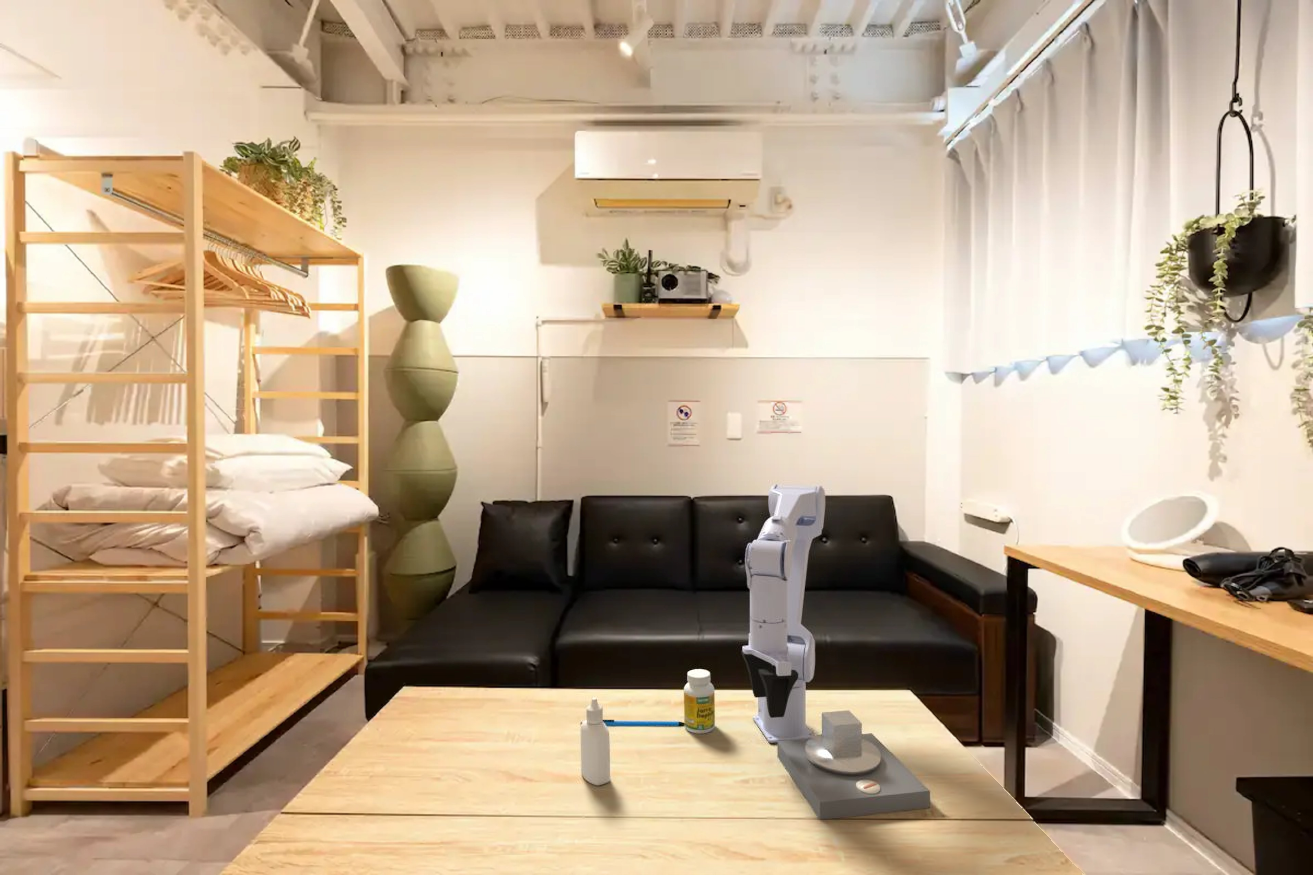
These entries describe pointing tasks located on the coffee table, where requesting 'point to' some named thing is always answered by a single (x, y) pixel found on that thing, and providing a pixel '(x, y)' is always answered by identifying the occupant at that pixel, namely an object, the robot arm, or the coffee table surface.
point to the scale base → (854, 784)
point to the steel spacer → (841, 734)
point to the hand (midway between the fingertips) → (768, 705)
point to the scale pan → (843, 765)
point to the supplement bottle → (699, 702)
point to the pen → (642, 723)
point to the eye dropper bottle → (595, 746)
